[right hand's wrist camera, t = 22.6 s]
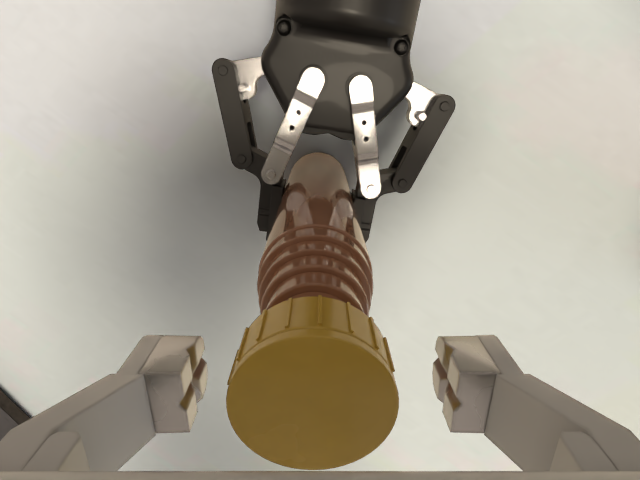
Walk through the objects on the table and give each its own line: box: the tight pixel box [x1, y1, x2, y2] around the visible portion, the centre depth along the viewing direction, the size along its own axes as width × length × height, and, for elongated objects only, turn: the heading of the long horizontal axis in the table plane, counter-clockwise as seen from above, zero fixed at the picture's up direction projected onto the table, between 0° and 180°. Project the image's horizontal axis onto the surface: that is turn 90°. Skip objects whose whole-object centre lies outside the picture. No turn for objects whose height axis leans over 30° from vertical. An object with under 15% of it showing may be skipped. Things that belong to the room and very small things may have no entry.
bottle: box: [257, 152, 373, 317], centre depth 20 cm, size 4×4×23 cm
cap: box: [226, 295, 399, 470], centre depth 10 cm, size 4×4×2 cm
